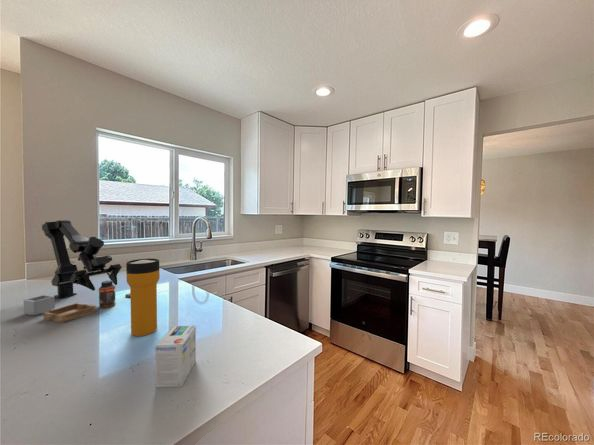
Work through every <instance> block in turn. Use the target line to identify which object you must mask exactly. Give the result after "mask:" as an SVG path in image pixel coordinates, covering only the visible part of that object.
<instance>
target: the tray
mask: <svg viewBox="0 0 594 445" xmlns="http://www.w3.org/2000/svg"><path fill="white" fill-rule="evenodd" d="M95 312H96V305H93V304H87V303H81V302H74V303H72V304H68V305H65V306H62V307H58V308H55V309H52V310H51V311H48V312H44V314H43V320H47V321H52V322H57V323H61V324H64V323H68V322H70V321H73V320H75V319H79V318H82V317H85V316H87V315H91V314H93V313H95Z"/></svg>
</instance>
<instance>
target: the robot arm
mask: <svg viewBox="0 0 594 445" xmlns="http://www.w3.org/2000/svg"><path fill="white" fill-rule="evenodd" d="M41 229H42V231H43V232H44V235H45V236H46V237H47V238H48V239H50V242H51V245H52V250H53V253H54V256H55V260H56V264H57V267H56V269H55V271H54V276H53V278H52V279H51V281H50V282H51V285H52V286H54V287H56V288H57V294H56V295H54V296H55V298H58V299H59V298H60V299H63V298H68V297H71V296H74V295H77V293H76V292H74V285H75V284H76V285H80V286H82V287H84V288H85V287H86V288H87V289H89V290H91V291H92V292H93V291H95V290H96V287H95V286H94V284H93V282H92V280H91V279H90V277H95V276H99V275H104V274H106V275H107V276H108V278H109V281H112V283H113V285H114V286H117V285H118V274H119V273H120V271H121V269H122V267H123V266H121V264H120V263H115V264H114V263H113V264H110V265H109V267H108V268H106V267H107V264H109V263H111V262H112V261H113V257H112V255H111V254H105V255H104V256H103V255H102V256H97V255H98V254H99V253H100V252H101V250H102V248H103V247H104V245H105V242H104V240H102V239H100V238H98V237H96V236H90V237H89V238H88V237H85V236H83V235H81V234H80V233H79V231H78V230H77V229H76V228H75V227H74V226H73V225H72V222H71V220H67V219H65V220H56V221H45V222H44V223H43V224H42V225H41ZM64 237H65V238H66V239H67V241H68V242H69V248H70V251H71V252H72V253H74V254H78V253H79V254H78V257H77V261H79V262H80V261H81V263H82V264H83V269H80V270H78V267H77V265H76V264H73V263H71V259H70V256H69V252H68V249H67V245H66V241H65V240H66V239H65V238H64Z"/></svg>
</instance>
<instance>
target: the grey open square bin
mask: <svg viewBox="0 0 594 445" xmlns="http://www.w3.org/2000/svg"><path fill="white" fill-rule="evenodd" d="M55 298H56V297H55V295H50V294H41V295H37V296H33V297H30V298H26V299H23V313H24V314H27V315H28V316H39V315H44V312H48V311H51V310H54V309H56V307H55V306H56V305H55V304H56V302H55V300H56V299H55Z"/></svg>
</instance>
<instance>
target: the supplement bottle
mask: <svg viewBox="0 0 594 445" xmlns="http://www.w3.org/2000/svg"><path fill="white" fill-rule="evenodd" d="M116 301H117V300H116V285H115V284H114V283H113V282H112V281H111V280H104V281H101V284H100V287H99V288H98V307H99V308H101V309H107V308H111V307H113V306H114V307H115V305H116V304H117V303H116Z"/></svg>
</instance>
